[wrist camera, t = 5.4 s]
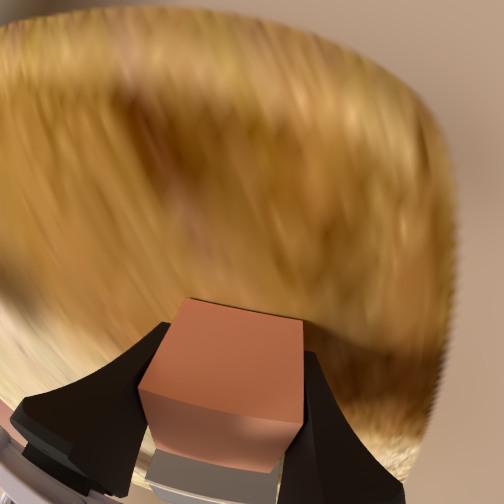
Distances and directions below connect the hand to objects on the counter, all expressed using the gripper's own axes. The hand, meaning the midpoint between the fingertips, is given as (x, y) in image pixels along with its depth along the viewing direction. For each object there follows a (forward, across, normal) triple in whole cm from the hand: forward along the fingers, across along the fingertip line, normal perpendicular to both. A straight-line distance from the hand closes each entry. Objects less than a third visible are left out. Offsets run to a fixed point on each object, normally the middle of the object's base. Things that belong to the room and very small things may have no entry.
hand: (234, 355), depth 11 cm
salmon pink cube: (+1, 0, +1) cm, 2 cm away
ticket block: (+1, 0, +16) cm, 16 cm away
